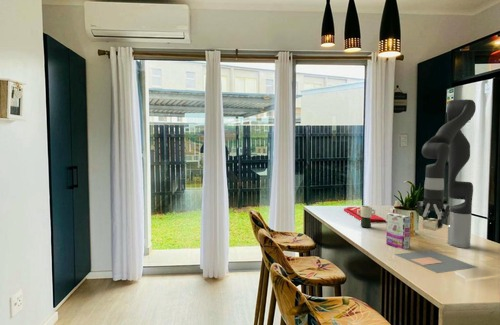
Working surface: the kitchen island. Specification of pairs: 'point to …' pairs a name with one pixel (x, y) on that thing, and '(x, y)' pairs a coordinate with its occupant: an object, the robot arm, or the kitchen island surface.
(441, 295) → the kitchen island surface
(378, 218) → the dish drying mat
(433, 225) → the maple deck block
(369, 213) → the character mug
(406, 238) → the candy bar box
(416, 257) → the rubber mat
